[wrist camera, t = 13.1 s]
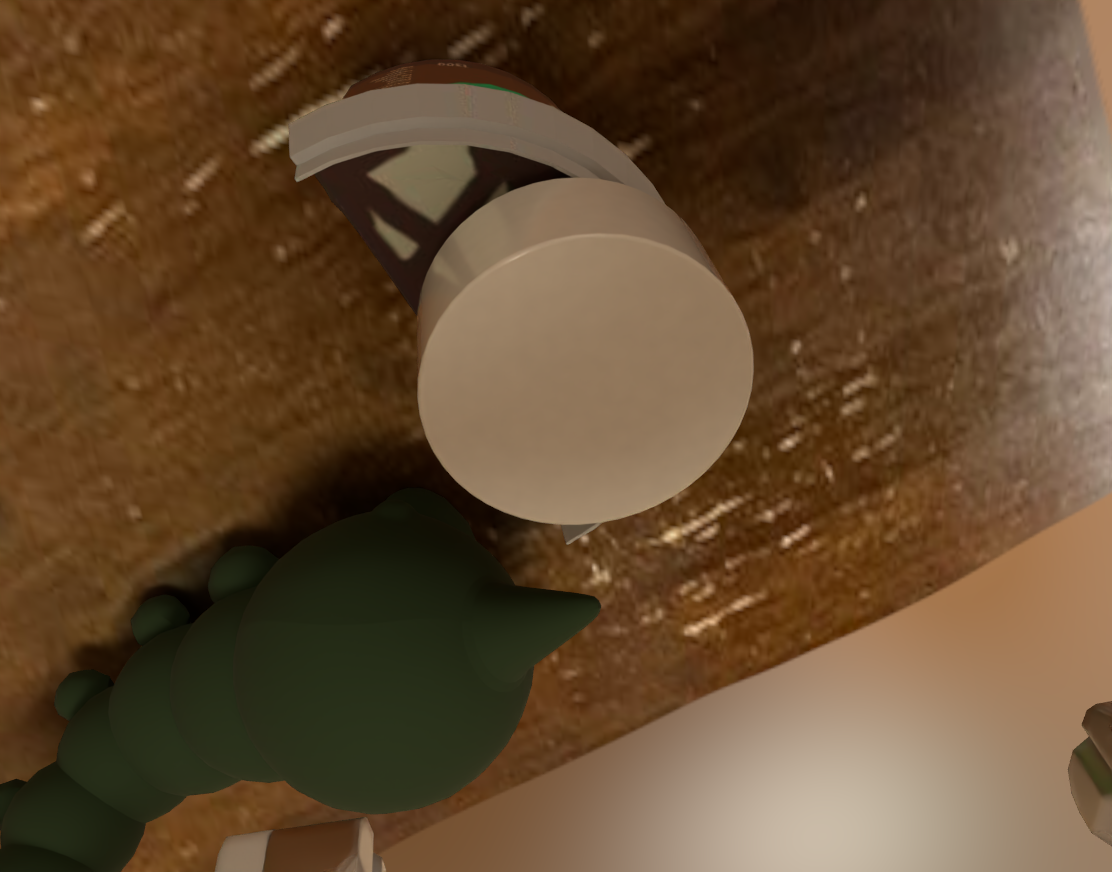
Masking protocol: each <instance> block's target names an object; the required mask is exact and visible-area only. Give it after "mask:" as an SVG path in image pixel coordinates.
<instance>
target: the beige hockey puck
mask: <svg viewBox="0 0 1112 872" xmlns="http://www.w3.org/2000/svg"><path fill="white" fill-rule="evenodd" d="M753 373H754V360H753V347H752V342H751V337H750V332H749V329H748V327H747V324H746V321H745V319H744V316H743V313H742V312H741V310H740V308H739V306H738V305H737V303H736V301H735V299H734V297H733V296H732V294H731V292H730V291H729V289H728V287H727V286H726V284H725V282H724V281H723V279H722V278H721V276H720V274H719V273H718V271H717V269H716V268H715V266H714V264H713V263H712V261H711V259H710V258H709V256H708V254H707V253H706V251H705V249H704V248H703V246H702V244H701V243H700V241H699V239H698V238H697V236H696V235H695V234H694V233H693V231H692V230H691V229H690V227H689V226H688V225H687V224H686V222H685V221H683V220H682V219H681V218H680V217H679V216H678V215H677V214H676V213H675V212H674V211H673V210H672V209H670V208H669V207H668V206H666V205H665V204H663V203H662V202H660V201H659V200H657V199H656V198H654V197H652V196H650V195H648V194H646V193H644V192H642V191H640V190H638V189H635V188H633V187H630V186H627V185H624V184H621V183H617V182H612V181H607V180H602V179H594V178H578V177H576V178H561V179H552V180H547V181H542V182H537V183H533V184H530V185H527V186H524V187H521V188H518V189H515V190H513V191H510V192H508V193H506V194H504V195H502V196H500V197H498V198H496V199H494V200H492V201H491V202H489V203H488V204H486V205H485V206H483V207H482V208H480V209H478V210H477V211H476V212H474V213H473V214H472V215H471V216H470V217H469V218H467V219H466V220H465V221H464V222H463V223H461V224H460V225H459V227H458V228H457V229H456V230H455V231H454V232H453V233H452V234H451V235H450V237H449V238H448V239H447V240H446V241H445V243H444V244H443V246H442V247H441V249H440V250H439V252H438V253H437V255H436V256H435V258H434V260H433V262H432V264H431V266H430V268H429V270H428V272H427V274H426V277H425V280H424V283H423V286H422V289H421V293H420V299H419V304H418V311H417V399H418V407H419V415H420V419H421V423H422V426H423V430H424V433H425V436H426V438H427V440H428V442H429V444H430V446H431V449H432V451H433V452H434V454H435V455H436V457H437V458H438V460H439V461H440V463H441V464H442V466H443V467H444V468H445V469H446V471H447V472H448V473H449V474H450V475H451V476H452V477H453V478H454V480H455V481H456V482H457V483H459V484H460V485H461V486H462V487H463V488H464V489H466V490H467V491H468V492H469V493H470V494H472V495H473V496H475V497H477V498H478V499H480V500H481V501H483V502H484V503H486V504H488V505H490V506H492V507H494V508H496V509H498V510H500V511H502V512H505V513H508V514H511V515H513V516H516V517H519V518H523V519H527V520H532V521H536V522H541V523H550V524H559V525H582V524H593V523H601V522H606V521H611V520H616V519H620V518H624V517H627V516H630V515H634V514H637V513H640V512H642V511H644V510H647V509H649V508H652V507H654V506H656V505H658V504H660V503H662V502H664V501H666V500H667V499H669V498H671V497H673V496H675V495H676V494H678V493H679V492H681V491H682V490H683V489H685V488H686V487H688V486H689V485H691V484H692V483H693V482H694V481H695V480H697V479H698V478H699V477H700V476H701V475H702V474H704V473H705V472H706V471H707V470H708V469H709V468H710V467H711V465H712V464H713V463H714V462H715V461H716V460H717V459H718V458H719V457H720V455H721V454H722V453H723V451H724V450H725V449H726V447H727V446H728V445H729V443H730V442H731V440H732V438H733V436H734V435H735V433H736V431H737V429H738V428H739V426H740V424H741V421H742V419H743V416H744V414H745V411H746V409H747V405H748V402H749V398H750V394H751V390H752V382H753Z"/></svg>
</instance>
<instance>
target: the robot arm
mask: <svg viewBox="0 0 1112 872" xmlns="http://www.w3.org/2000/svg"><path fill="white" fill-rule="evenodd" d="M1082 726H1083V728H1084V729H1085V731H1086V732H1087V734H1088V735H1089V737H1088V738H1087V739H1086V740H1084V741H1083V742H1082V743H1081V744H1080V745H1079V746H1077V747H1076V748H1075V749H1074V750H1073V752H1072V756H1071V760H1070V764H1069V767H1068V773H1069V780H1070V786H1071V793H1072V795H1073V798H1074V800H1075V803H1076V805H1077V808H1078V810H1079V813H1080V814H1081V816H1082V818H1083V819H1084V821H1085V823H1086V824H1087V826H1088V828H1089V829H1090V831H1091V833H1092V834H1094V835H1095V836H1097V837H1098V838H1100V839H1101V840H1103V841H1104V842H1106V843H1107V844H1109V845H1111V846H1112V701H1111V702H1105V703H1099V704H1095V705H1094V706H1092V707H1091V708H1089V709H1088V710H1087V711H1086V714H1085V717H1084V720H1083V722H1082ZM373 837H374V834H373V831H372V829H371V826H370V824H369V821H368V819H367V817H363V818H356V819H349V820H342V821H335V822H328V823H321V824H314V825H307V826H300V827H293V828H286V829H279V830H268V831H261V832H255V833H249V834H242V835H236V836H230V837H226V839H225V841H224V843H223V845H222V848H221V850H220V852H219V854H218V858H217V864H216V869H215V872H386V868H385V865H384V862H383V859H382V857H380V856H379V855H377V854H375V853H373Z"/></svg>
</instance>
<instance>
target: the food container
mask: <svg viewBox="0 0 1112 872" xmlns="http://www.w3.org/2000/svg"><path fill="white" fill-rule="evenodd" d="M289 151H290V158H291V159H292V160H293V162H294V163H295V164H296V166H297V168H296V174H295V180H296V181H297V182H299V181H301V180H303V179H305V178H307V177H309V176H311V175H313V174H314V175H315V176H316V178H317V179H318V181H319V182H320V183H321V185H322V186H323V187H324V189H325V191H326V192H327V194H328V196H329V198H330V199H331V201H332V202H333V203H334V204H335V205H336V206H337V207H338V208H339V209H340V210H341V211H342V212H343V214H344V215H345V216H346V217H347V219H348V220H349V221H350V223H351V224H352V225H353V226H354V228H355V229H356V230H357V232H358V233H359V234H360V236H361V237H362V239H363V240H364V241H365V243H366V244H367V246H368V247H369V249H370V250H371V251H372V253H373V254H374V256H375V257H376V258H377V260H378V261H379V263H380V264H381V265H382V267H383V268H384V270H385V271H386V272H387V274H388V275H389V277H390V278H391V279H392V281H393V282H394V284H395V285H396V287H397V288H398V289H399V291H400V292H401V294H402V295H403V297H404V298H405V299H406V301H407V302H408V304H409V305H410V307H411V308H412V309H413V311H414V312H415V314H416V315H417V311H418V304H419V299H420V293H421V289H422V286H423V283H424V280H425V277H426V274H427V272H428V270H429V268H430V266H431V264H432V262H433V260H434V258H435V256H436V255H437V253H438V252H439V250H440V249H441V247H442V246H443V244H444V243H445V241H446V240H447V239H448V238H449V237H450V235H451V234H452V233H453V232H454V231H455V230H456V229H457V228H458V227H459V225H460V224H461V223H463V222H464V221H465V220H466V219H467V218H469V217H470V216H471V215H472V214H473V213H474V212H476V211H477V210H478V209H480V208H482V207H483V206H485V205H486V204H488V203H489V202H491V201H492V200H494V199H496V198H498V197H500V196H502V195H504V194H506V193H508V192H510V191H513V190H515V189H518V188H521V187H524V186H527V185H530V184H533V183H537V182H542V181H547V180H552V179H561V178H576V177H578V178H594V179H602V180H607V181H612V182H617V183H621V184H624V185H627V186H630V187H633V188H635V189H638V190H640V191H642V192H644V193H646V194H648V195H650V196H652V197H654V198H656V199H657V200H659V201H660V202H662V203H663V204H665V203H664V201H663V200H662V198H661V197H660V195H659V193H658V192H657V190H656V189H655V187H654V186H653V184H652V183H651V182H650V181H649V180H648V179H647V177H646V176H645V175H644V174H643V173H642V172H641V171H640V170H639V169H638V167H637V166H636V165H635V164H634V163H633V162H632V161H631V160H630V159H629V158H628V156H627V155H626V154H625V153H623V152H622V151H621V150H619V149H618V148H617V147H616V146H614V145H613V144H612V143H611V142H609V141H608V140H607V139H605V138H604V137H603V136H602V135H600V134H599V133H598V132H597V131H595V130H594V129H593V128H591V127H589V126H587V125H586V124H584V123H582V122H580V121H578V120H576V119H574V118H573V117H571V116H569V115H567V114H565V113H563V112H562V111H561V110H560V109H559V108H558V107H557V106H556V105H555V104H554V102H553V101H552V100H551V99H549V98H548V97H547V96H545V95H544V94H543V93H542V92H540V91H539V90H538V89H536V88H535V87H534V86H532V85H531V84H529V83H527V82H526V81H524V80H522V79H520V78H518V77H516V76H514V75H512V74H510V73H509V72H506V71H503V70H500V69H497V68H494V67H491V66H488V65H485V64H481V63H475V62H469V61H463V60H454V59H429V60H423V61H417V62H411V63H404V64H401V65H397V66H394V67H391V68H388V69H385V70H382V71H379V72H377V73H375V74H373V75H371V76H369V77H367V78H365V79H363V80H361V81H360V82H358V83H356V84H354V85H352V86H351V87H350V89H349V90H348V92H347V93H346V95H345V96H344V98H343V99H342V100H339V101H336V102H333V103H330V104H327V105H324V106H323V107H321V108H319V109H317V110H315V111H313V112H311V113H309V114H307V115H305V116H303V117H301V118H299V119H297V120H295V121H293V122H291V123H289ZM601 523H603V522H601ZM601 523H593V524H582V525H561V526H562V530H563V534H564V538H565V542H566V544H567V545H568V544H570V543H571V542H573V541H575V540H576V539H578V538H580V537H582V536H583V535H585V534H587V533H588V532H590V531H592V530H594V529H595V528H596V527H598V526H599V525H600V524H601Z"/></svg>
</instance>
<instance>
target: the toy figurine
mask: <svg viewBox="0 0 1112 872" xmlns="http://www.w3.org/2000/svg"><path fill="white" fill-rule="evenodd" d="M208 590H209V593H210V597H211V600H212V601H213V602H214V604H213V605H212V606H211V607H210V608H208V609H207V610H206V611H205V612H204V613H203V614H202V615H201V616H200V617H199V618H198V619H197V620H196V621H195V622H194V623H191V620H190V614H189V612H188V610H187V608H186V607H185V606H184V605H183V604H182V603H181V602H180V601H179V600H178V599H177V598H176V597H173V596H169V595H165V594H164V595H160V596H157V597H153V598H150V599H147V600H146V601H145V602H144V603H143V604H142V605H141V606H140V607H139V608H138V610H137V612H136V613H135V615H134V616H133V618H132V619H131V624H132V630H133V634H134V636H135V638H136V640H137V642H138V644H140V645H142V647H141V648H139V649H138V650H137V651H136V652H135V653H134V654H133V655H132V657H131V658H130V659H129V660H128V661H127V663H126V664H125V666H124V667H123V669H122V671H121V672H120V674H119V675H118V677H117V679H116V682H115V684H114V683H113V681H112V680H111V678H110V677H109V676H108V675H105V674H103V673H100V672H98V671H96V670H82V671H77V672H73V673H70V674H69V675H68V676H67V677H66V678H65V679H64V680H63V682H62V683H61V684H60V685H59V687H58V689H57V690H56V695H55V702H54V706H55V708H56V710H57V712H58V715H60V716H62V717H63V718H65V719H67V720H69V721H70V722H69V723H68V724H67V727H66V729H65V732H64V734H63V736H62V739H61V741H60V743H59V746H58V752H57V759H56V762H54V763H52V764H50V765H48V766H47V767H45V768H43V769H41V770H39V771H38V772H37V773H36V774H35V775H34V776H33V777H32V778H31V779H30V780H29V781H28V782H25V781H22V780H18V779H14V780H12V781H9V782H6V783H3V784H0V830H1V835H0V840H1V849H0V872H121V870H122V869H123V868H124V867H125V865H126V864H127V863H128V862H129V861H130V859H131V858H132V857H133V855H134V853H135V851H136V849H137V847H138V845H139V842H140V840H141V838H142V836H143V834H144V829H145V825H146V823H147V822H149V821H152V820H154V819H156V818H158V817H160V816H162V815H164V814H166V813H168V812H169V811H171V810H172V809H173V808H174V807H176V806H177V805H178V804H180V803H181V802H182V801H183V800H184V799H185V798H186V797H187V796H189V795H198V794H206V793H214V792H216V791H219V790H221V789H224V788H226V787H229V786H231V785H233V784H235V783H237V782H238V781H240V780H246V781H255V782H267V783H271V782H277V781H284V780H285V781H286V782H287V783H288V784H289V785H290V786H292V787H293V788H294V789H296V790H297V791H299V792H301V793H303V794H305V795H307V796H309V797H311V798H313V799H315V800H317V801H319V802H321V803H323V804H325V805H328V806H330V807H333V808H336V809H342V810H348V811H354V812H360V813H366V814H387V813H394V812H401V811H408V810H414V809H420V808H422V807H425V806H428V805H430V804H433V803H436V802H438V801H441V800H443V799H446V798H449V797H450V796H452V795H453V794H455V793H456V792H458V791H459V790H461V789H462V788H463V787H465V786H466V785H468V784H469V783H470V782H472V781H473V780H474V779H476V778H477V777H478V776H479V775H480V774H481V773H482V772H483V771H484V770H485V769H486V768H487V767H488V766H489V765H490V764H491V763H492V761H493V760H494V759H495V758H496V757H497V756H498V755H499V753H500V752H501V751H502V750H503V749H504V747H505V746H506V745H507V743H508V741H509V740H510V738H511V736H512V734H513V733H514V731H515V729H516V727H517V725H518V723H519V721H520V719H521V717H522V714H523V711H524V708H525V706H526V703H527V699H528V696H529V693H530V689H531V686H532V679H533V670H534V665H535V664H537V663H538V662H539V661H541V660H542V659H543V658H545V657H546V656H547V655H549V654H550V653H551V652H553V651H554V650H555V649H557V648H558V647H559V646H561V645H562V644H563V643H565V642H566V641H567V640H569V639H570V638H571V637H573V636H574V635H575V634H577V633H578V632H579V631H581V630H582V629H583V628H584V627H586V626H587V625H588V624H589V623H590V622H592V621H593V620H594V619H595V618H596V617H597V615H598V614H599V612H600V609H601V604H600V602H599V600H598V599H597V598H595V597H594V596H590V595H585V594H579V593H571V592H563V591H554V590H546V589H537V588H529V587H521V586H515V584H514V583H513V581H512V579H511V578H510V576H509V575H508V573H507V572H506V570H505V569H504V568H503V567H502V565H501V564H500V563H499V562H498V560H497V559H496V558H495V557H494V556H493V555H492V554H491V553H490V552H489V551H487V550H486V549H485V548H484V547H483V546H482V545H481V544H480V543H478V542H477V541H476V540H475V537H474V535H473V532H472V530H471V528H470V525H469V523H468V522H467V521H466V520H465V519H464V518H463V516H462V515H461V514H460V513H459V512H458V511H457V510H456V509H455V508H454V507H453V506H452V505H451V504H450V503H449V502H448V501H447V500H446V499H445V498H443V497H441V496H439V495H437V494H436V493H434V492H432V491H430V490H427V489H423V488H405V489H402V490H400V491H397V492H395V493H393V494H392V495H391V496H389V497H388V498H387V499H386V500H385V501H384V502H382V503H380V504H379V505H378V506H377V507H376V508H374V509H373V510H372V511H371V512H366V513H362V514H358V515H355V516H351V517H348V518H345V519H343V520H340V521H338V522H335V523H333V524H331V525H329V526H327V527H325V528H323V529H321V530H319V531H317V532H315V533H313V534H312V535H310V536H308V537H307V538H305V539H303V540H302V541H301V542H299V543H298V544H297V545H296V546H295V547H293V548H292V549H291V550H290V551H289V552H287V553H286V554H285V555H284V556H283V557H282V558H280V559H278V558H277V557H275V556H274V555H273V554H271V553H270V552H269V551H268V550H266V549H265V548H263V547H257V546H251V545H248V546H238V547H233V548H232V549H230V550H229V551H228V552H227V553H226V554H224V555H223V556H222V557H221V558H220V559H219V560H218V561H217V562H216V564H215V565H214V566H213V567H212V568H211V572H210V578H209V583H208Z"/></svg>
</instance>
